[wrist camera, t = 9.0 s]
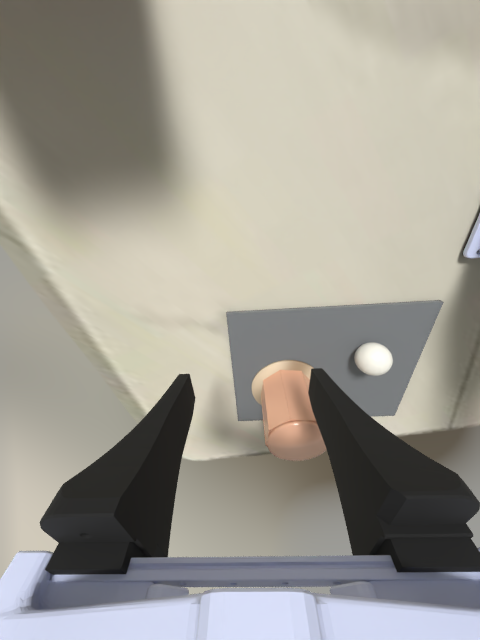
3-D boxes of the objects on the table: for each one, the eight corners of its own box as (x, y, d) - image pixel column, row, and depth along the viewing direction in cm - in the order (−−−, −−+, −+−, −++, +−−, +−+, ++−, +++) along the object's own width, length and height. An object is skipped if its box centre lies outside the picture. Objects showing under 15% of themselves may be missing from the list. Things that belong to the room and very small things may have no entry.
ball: (384, 335, 22) (405, 355, 19) (376, 360, 24) (394, 382, 21) (352, 336, 22) (367, 357, 20) (346, 361, 24) (360, 383, 21)
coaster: (324, 358, 24) (325, 359, 23) (316, 408, 28) (317, 410, 27) (250, 361, 24) (250, 363, 24) (252, 410, 28) (253, 412, 28)
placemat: (440, 300, 21) (443, 302, 20) (392, 412, 29) (394, 415, 28) (226, 311, 21) (226, 313, 21) (238, 418, 29) (238, 421, 29)
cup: (316, 371, 24) (338, 425, 19) (305, 406, 27) (321, 462, 21) (264, 368, 24) (271, 422, 18) (259, 403, 27) (263, 459, 21)
